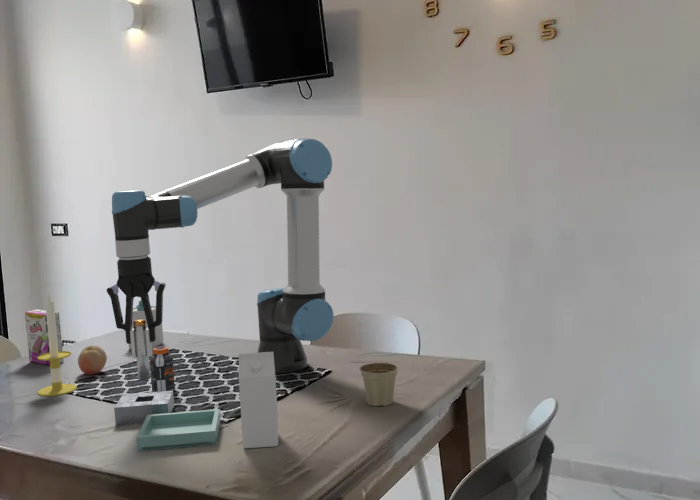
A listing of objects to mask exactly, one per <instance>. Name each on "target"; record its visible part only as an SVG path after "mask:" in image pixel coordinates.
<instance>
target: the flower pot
mask: <svg viewBox="0 0 700 500" xmlns="http://www.w3.org/2000/svg"><path fill="white" fill-rule="evenodd" d="M399 368H400V367H399V365H397V364H395V363H390V362H371V363H365V364H363V365H361V366H360V367H358V369H359V371H360V372H361V376H362V379H363V384H364V385H363V386H364V391H365V397H366V402H367V405H370V406H374V407H379V406H383V407H385V406H389V405H392V404H393V402H394V395H395V394H394V393H395V385H396V376H397V374H398V371H399V370H400V369H399Z"/></svg>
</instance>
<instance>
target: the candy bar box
mask: <svg viewBox="0 0 700 500" xmlns="http://www.w3.org/2000/svg"><path fill="white" fill-rule="evenodd" d="M24 315H25V316H24V317H25V318H24V319H25V327H26V338H27V347H28V356H29V357H28V358H29V362H30V363H34V364H39V365H45V366H49V367H50V361H42V360H38V358H37V357H38V356H39V355H42V354H45V353H49V352H50V350H49V339H48V328H47V317H46V309H45V310H44V309H33V310H27V311H25V312H24ZM55 321H56V332H57V343H58V351H63V342H62V331H61V320H60V312H59V311H55ZM62 363H64V358H63V359H60V364H62Z"/></svg>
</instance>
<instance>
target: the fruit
mask: <svg viewBox="0 0 700 500" xmlns="http://www.w3.org/2000/svg"><path fill="white" fill-rule="evenodd" d="M107 359H108V357H107V353H106V351H105V350H104V349H103V348H101V347H100V346H98V345H88V346H85V347H84V348H83V349H82V350H81V352H80V353H79V354H78V358H77V364H78V368H79V369H80V371H81V372H82V373H84V374H85V375H88V376H89V375H96V374H98V373H99V372H101V371H102V370H103V369H104V367H105V366H106V363H107Z"/></svg>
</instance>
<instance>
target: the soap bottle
mask: <svg viewBox="0 0 700 500" xmlns="http://www.w3.org/2000/svg"><path fill="white" fill-rule="evenodd" d="M151 310H152V314H153V318H154V321H155V320H156V305H153V306H151ZM135 320H146V316H145V312H144V308H143V303H142V301H141V299H140V300H138V304H137V305H136V307H133V315H132V329H133V328H134V325H133V321H135ZM147 327H148V324H147V320H146V328H147ZM163 330H164V329H163V322H162V323H161V324H160V325H159V326H156V327H155V335H156V339H155V341H154V342H152V350H153V349H154V348H156V347H160V345H162V344H164V333H163V332H164V331H163ZM128 349H129V350H132V349H131V344H128Z"/></svg>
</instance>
